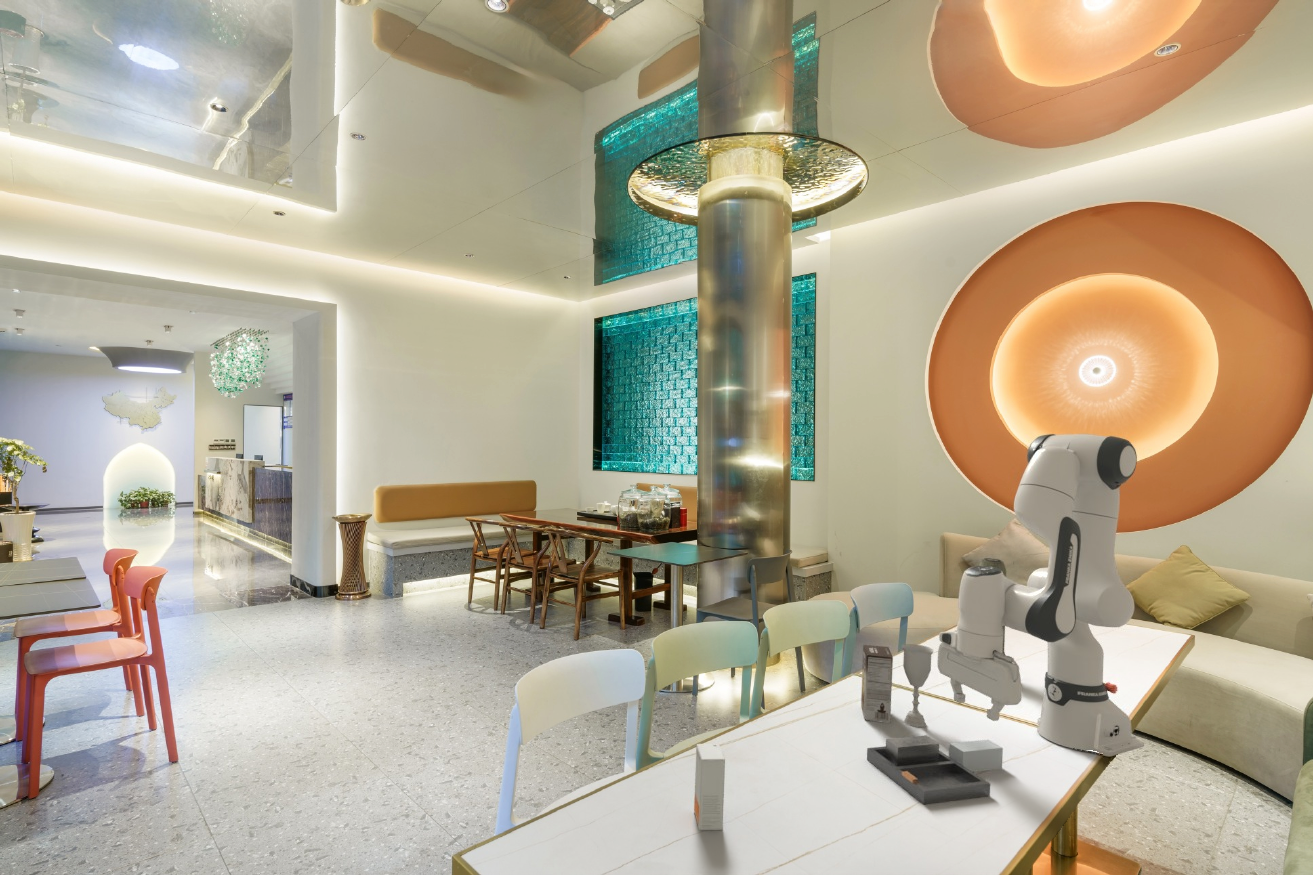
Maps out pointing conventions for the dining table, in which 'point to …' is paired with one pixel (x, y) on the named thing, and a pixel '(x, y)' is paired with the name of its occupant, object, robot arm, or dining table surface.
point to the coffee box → (876, 683)
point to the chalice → (916, 677)
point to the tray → (926, 770)
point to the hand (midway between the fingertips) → (975, 710)
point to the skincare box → (709, 786)
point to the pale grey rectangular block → (977, 755)
